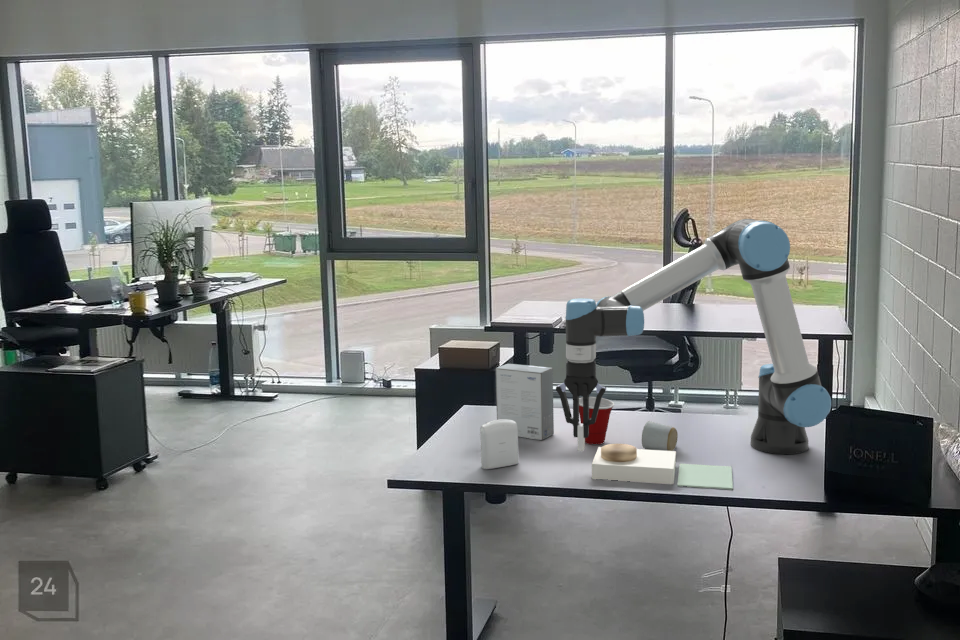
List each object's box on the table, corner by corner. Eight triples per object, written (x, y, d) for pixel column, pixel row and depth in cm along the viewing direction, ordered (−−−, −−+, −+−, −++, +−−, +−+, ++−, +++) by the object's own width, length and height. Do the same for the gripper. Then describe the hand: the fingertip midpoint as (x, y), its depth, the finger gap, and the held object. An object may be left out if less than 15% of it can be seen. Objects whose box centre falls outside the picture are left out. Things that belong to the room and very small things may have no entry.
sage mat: (731, 468, 235) (731, 466, 235) (732, 489, 220) (732, 488, 219) (679, 464, 238) (679, 463, 238) (677, 486, 223) (677, 484, 223)
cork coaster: (637, 451, 237) (637, 444, 236) (636, 462, 228) (636, 454, 228) (602, 450, 239) (602, 443, 238) (599, 461, 230) (599, 453, 230)
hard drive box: (554, 434, 267) (554, 367, 264) (542, 441, 261) (541, 373, 257) (509, 427, 275) (508, 362, 272) (495, 433, 269) (494, 367, 266)
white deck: (675, 466, 237) (675, 451, 237) (673, 484, 224) (673, 468, 223) (598, 461, 242) (598, 446, 242) (591, 479, 229) (591, 463, 228)
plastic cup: (610, 449, 252) (610, 407, 250) (572, 446, 256) (571, 404, 254) (617, 437, 262) (617, 397, 260) (580, 434, 266) (580, 394, 264)
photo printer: (484, 471, 237) (483, 424, 235) (478, 466, 241) (477, 420, 239) (521, 465, 241) (520, 419, 239) (514, 460, 245) (513, 415, 242)
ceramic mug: (669, 456, 245) (670, 428, 244) (640, 451, 249) (641, 424, 248) (682, 446, 254) (683, 419, 253) (654, 442, 258) (654, 415, 257)
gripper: (552, 362, 230) (553, 452, 234) (605, 363, 226) (604, 455, 230) (557, 356, 237) (558, 443, 241) (608, 357, 233) (608, 446, 237)
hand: (581, 449), depth 235 cm, fingers closed
